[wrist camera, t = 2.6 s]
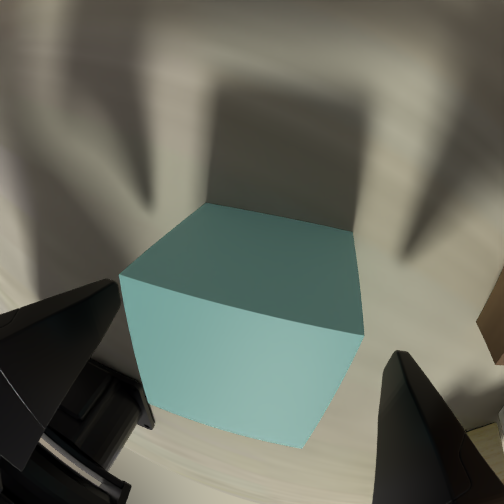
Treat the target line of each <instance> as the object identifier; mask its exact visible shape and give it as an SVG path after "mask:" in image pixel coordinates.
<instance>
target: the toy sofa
mask: <svg viewBox="0 0 504 504" xmlns="http://www.w3.org/2000/svg"><path fill="white" fill-rule="evenodd" d="M466 433H467V435H468V436H469V438H470V439H471V441H472V442H473V444H474V445H475V447H476V448H477V449H478V451H479V452H480V454H481V455H482V456H483V458H484V459H485V461H486V462H487V463H488V465H489V466H490V467H491V468H492V470H493V471H494V472H495V474H496V475H497V476H498V478H499V479H500V480H501V482H502V483H503V484H504V452H503V447H502V442H501V438H500V434H499V430H498V426H497V424H496V423H492V424H489V425H487V426H484V427H481V428H478V429H475V430H472V431H469V432H466Z"/></svg>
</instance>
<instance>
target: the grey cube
mask: <svg viewBox="0 0 504 504" xmlns="http://www.w3.org/2000/svg"><path fill="white" fill-rule="evenodd" d="M498 415H499V419H500V423H501V427H502V431H503V435H504V406H503V408H502V409H501V411H500V412H499V414H498Z"/></svg>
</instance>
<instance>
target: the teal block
mask: <svg viewBox="0 0 504 504" xmlns="http://www.w3.org/2000/svg"><path fill="white" fill-rule="evenodd" d="M119 278H120V285H121V291H122V296H123V302H124V307H125V312H126V317H127V322H128V327H129V332H130V336H131V341H132V345H133V349H134V353H135V357H136V361H137V365H138V369H139V373H140V376H141V380H142V384H143V387H144V390H145V394H146V397H147V400H148V403H149V404H151V405H154V406H156V407H159V408H161V409H164V410H166V411H169V412H171V413H174V414H177V415H179V416H182V417H185V418H188V419H190V420H193V421H196V422H199V423H202V424H205V425H208V426H211V427H215V428H218V429H221V430H224V431H228V432H231V433H235V434H239V435H242V436H246V437H250V438H254V439H258V440H262V441H267V442H271V443H276V444H280V445H285V446H290V447H296V448H301V449H302V448H303V446H304V445H305V443H306V442H307V440H308V439H309V437H310V436H311V434H312V432H313V431H314V429H315V427H316V426H317V424H318V423H319V421H320V419H321V418H322V416H323V414H324V412H325V411H326V409H327V407H328V406H329V404H330V402H331V400H332V398H333V397H334V395H335V393H336V391H337V389H338V388H339V386H340V384H341V382H342V380H343V378H344V376H345V374H346V372H347V370H348V368H349V366H350V365H351V363H352V360H353V358H354V356H355V354H356V352H357V350H358V348H359V346H360V344H361V342H362V340H363V337H364V325H363V313H362V302H361V292H360V283H359V275H358V267H357V259H356V252H355V245H354V238H353V232H350V231H346V230H342V229H337V228H332V227H328V226H323V225H319V224H314V223H309V222H304V221H299V220H295V219H290V218H285V217H280V216H275V215H270V214H264V213H259V212H254V211H249V210H243V209H238V208H232V207H227V206H221V205H216V204H210V203H205V204H204V205H202V206H201V207H200V208H199V209H197V210H196V211H195V212H193V213H192V214H191V215H190V216H188V217H187V218H186V219H185V220H183V221H182V222H181V223H180V224H178V225H177V226H176V227H175V228H173V229H172V230H171V231H170V232H168V233H167V234H166V235H165V236H164V237H162V238H161V239H160V240H159V241H157V242H156V243H155V244H154V245H153V246H151V247H150V248H149V249H148V250H147V251H145V252H144V253H143V254H142V255H141V256H140V257H138V258H137V259H136V260H135V261H134V262H133V263H131V264H130V265H129V266H128V267H127V268H126V269H124V270H123V271H122V272H121V273H120V274H119Z"/></svg>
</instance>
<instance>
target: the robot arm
mask: <svg viewBox="0 0 504 504" xmlns="http://www.w3.org/2000/svg"><path fill="white" fill-rule="evenodd" d="M120 305H121V298H120V293H119V287H118V284H117V282H116V281H113V280H110V279H103V280H100V281H97V282H94V283H91V284H88V285H85V286H82V287H79V288H76V289H73V290H70V291H67V292H64V293H61V294H59V295H56V296H53V297H50V298H47V299H44V300H41V301H38V302H35V303H32V304H30V305H27V306H24V307H21V308H20V309H19V308H18V309H15V310H12V311H9V312H6V313H3V314H1V315H0V504H126V501H127V498H128V495H129V492H130V490H131V485H130V484H129V483H127V482H125V481H121V480H120V479H118V478H116V477H115V476H113V475H112V474H110V473H109V472H108V471H109V469H110V468H111V466H112V464H113V463H114V461H115V459H116V458H117V456H118V454H119V453H120V451H121V449H122V448H123V446H124V444H125V443H126V441H127V440H128V438H129V436H130V435H131V433H132V431H133V430H134V428H135V426H136V425H137V424H138V425H140V426H142V427H145V428H147V429H149V430H152V429H153V428H154V422H153V419H152V416H151V413H150V410H149V407H148V404H147V401H146V398H145V395H144V391H143V388H142V386H141V385H140V384H139V383H138V382H137V381H135V380H133V379H130V378H128V377H126V376H124V375H122V374H119V373H117V372H115V371H113V370H111V369H109V368H107V367H105V366H103V365H101V364H99V363H97V362H95V361H93V360H91V359H89V358H90V357H91V355H92V354H93V352H94V351H95V349H96V348H97V346H98V345H99V343H100V342H101V340H102V338H103V337H104V335H105V333H106V331H107V329H108V328H109V326H110V324H111V322H112V320H113V319H114V317H115V315H116V313H117V312H118V310H119V308H120ZM40 438H43V439H44V440H45V441H46V442H47V443H49V444H50V445H51V446H52V447H53V448H55V449H56V450H57V451H59V453H61V454H62V455H63V456H65V457H66V458H67V459H68V460H70V461H71V462H73V463H74V464H75V465H76V466H78V467H79V468H81V469H82V470H84V471H85V472H86V473H88V474H89V475H91V476H92V477H94V478H95V479H97V480H98V481H100V482H101V483H102V484H101V485H100V486H99V487H98V486H97V485H95V484H94V483H92V482H91V481H89V480H88V479H86V478H85V477H83V476H82V475H80V474H79V473H78V472H76V471H75V470H73V469H72V468H71V467H69V466H68V465H67V464H65V463H64V462H63V461H62V460H60V459H59V458H58V457H56V456H55V455H54V454H53V453H51V452H50V451H49V450H48V449H47V448H45V447H44V446H43V445H42V444H41V443H40V442H38V441H39V440H40ZM372 504H504V484H503V483H502V482H501V480H500V479H499V478H498V476H497V475H496V474H495V472H494V471H493V470H492V468H491V467H490V466H489V465H488V463H487V462H486V461H485V459H484V458H483V456H482V455H481V454H480V452H479V451H478V449H477V448H476V447H475V445H474V444H473V442H472V441H471V439H470V438H469V436H468V435H467V433H465V430H464V429H463V427H462V426H461V424H460V423H459V421H458V420H457V418H456V417H455V415H454V414H453V413H452V411H451V410H450V408H449V407H448V405H447V404H446V403H445V401H444V400H443V398H442V397H441V396H440V394H439V393H438V391H437V390H436V389H435V387H434V386H433V384H432V383H431V382H430V380H429V379H428V378H427V376H426V375H425V374H424V372H423V371H422V370H421V368H420V367H419V366H418V364H417V363H416V362H415V360H414V359H413V358H412V356H411V355H410V354H409V353H408V352H406V351H400V350H396V351H395V352H394V353H393V354H392V356H391V358H390V360H389V361H388V363H387V365H386V366H385V368H384V371H383V376H382V387H381V397H380V405H379V414H378V436H377V457H376V471H375V483H374V492H373V501H372Z"/></svg>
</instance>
